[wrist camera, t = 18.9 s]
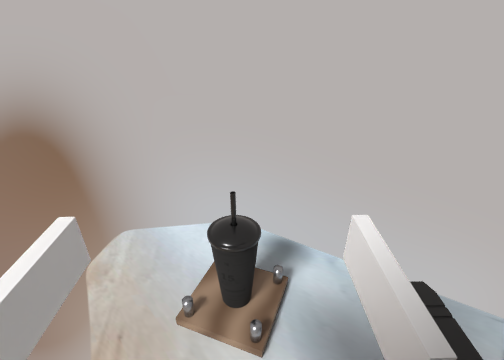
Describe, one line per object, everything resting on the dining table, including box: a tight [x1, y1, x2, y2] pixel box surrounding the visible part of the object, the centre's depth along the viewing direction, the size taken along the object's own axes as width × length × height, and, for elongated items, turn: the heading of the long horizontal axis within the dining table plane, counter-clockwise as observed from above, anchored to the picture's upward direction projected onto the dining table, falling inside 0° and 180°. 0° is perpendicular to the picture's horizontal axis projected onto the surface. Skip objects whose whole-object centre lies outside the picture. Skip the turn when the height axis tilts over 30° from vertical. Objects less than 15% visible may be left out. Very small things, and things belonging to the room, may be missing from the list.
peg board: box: [176, 261, 288, 357], centre depth 47 cm, size 14×14×4 cm
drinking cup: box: [207, 192, 261, 308], centre depth 42 cm, size 8×8×20 cm
